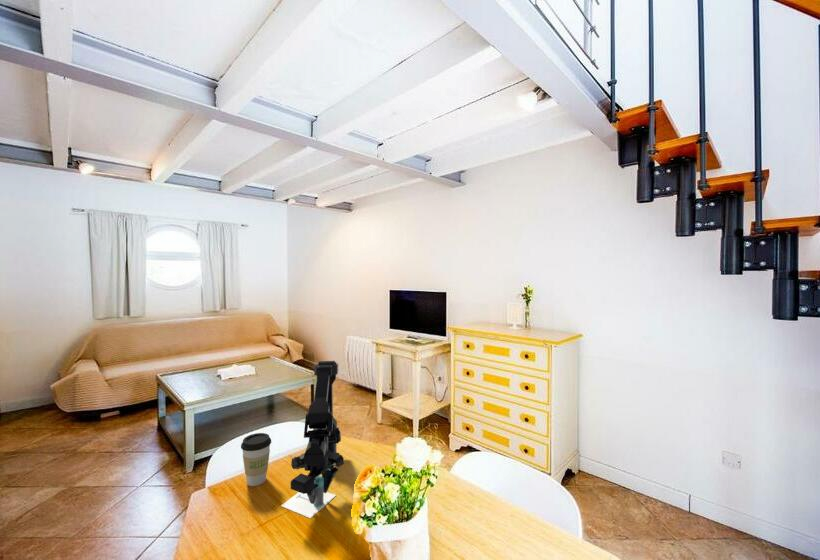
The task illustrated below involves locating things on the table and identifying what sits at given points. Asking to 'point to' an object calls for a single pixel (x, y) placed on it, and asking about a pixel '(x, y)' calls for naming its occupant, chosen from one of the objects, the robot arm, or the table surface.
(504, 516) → the table surface
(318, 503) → the marker
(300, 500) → the paper
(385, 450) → the table surface
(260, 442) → the coffee cup
